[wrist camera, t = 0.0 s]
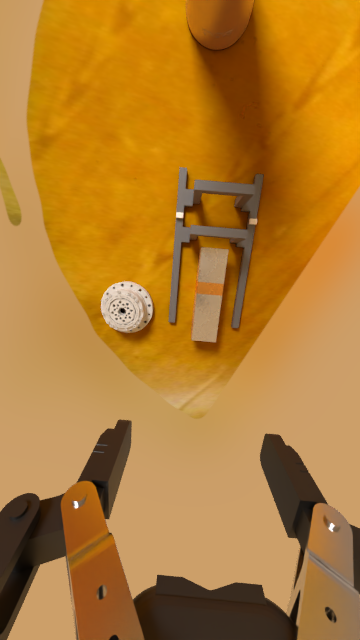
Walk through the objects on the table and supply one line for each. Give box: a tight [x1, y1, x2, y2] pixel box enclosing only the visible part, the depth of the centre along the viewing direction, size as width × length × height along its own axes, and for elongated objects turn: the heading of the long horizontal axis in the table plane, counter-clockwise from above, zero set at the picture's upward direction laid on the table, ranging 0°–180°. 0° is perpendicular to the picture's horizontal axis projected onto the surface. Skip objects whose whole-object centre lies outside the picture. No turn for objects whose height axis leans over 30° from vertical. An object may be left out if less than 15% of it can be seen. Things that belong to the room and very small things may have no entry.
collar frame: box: [169, 167, 264, 328], centre depth 34 cm, size 26×14×7 cm, turn 175°
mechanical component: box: [101, 281, 153, 333], centre depth 38 cm, size 10×4×10 cm
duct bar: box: [191, 247, 229, 342], centre depth 37 cm, size 16×4×4 cm, turn 175°
